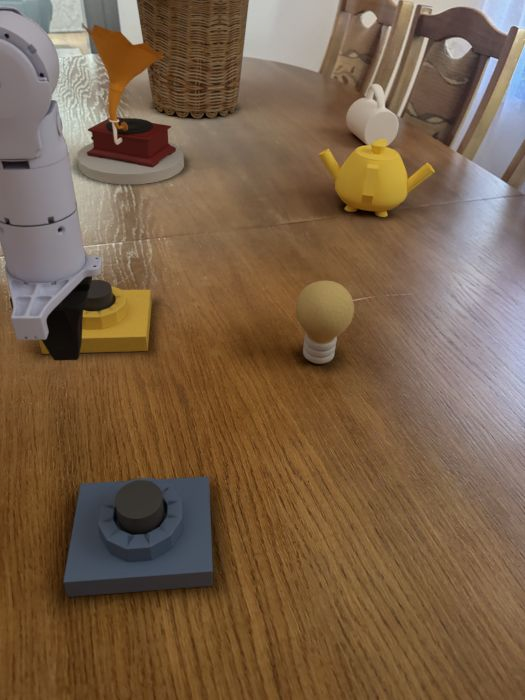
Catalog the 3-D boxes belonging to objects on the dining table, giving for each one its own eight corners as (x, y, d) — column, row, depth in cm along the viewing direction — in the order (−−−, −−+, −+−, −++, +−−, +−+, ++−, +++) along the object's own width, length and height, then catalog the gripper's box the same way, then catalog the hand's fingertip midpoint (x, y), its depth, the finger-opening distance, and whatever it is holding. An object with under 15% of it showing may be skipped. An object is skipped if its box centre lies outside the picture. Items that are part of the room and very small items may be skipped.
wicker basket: (141, 84, 157) (129, -64, 136) (266, 92, 157) (273, -54, 136) (109, 123, 129) (89, -54, 108) (261, 132, 129) (269, -43, 108)
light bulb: (282, 345, 68) (289, 274, 62) (330, 336, 70) (341, 266, 64) (304, 379, 63) (313, 306, 57) (354, 368, 65) (368, 296, 59)
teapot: (426, 195, 106) (441, 134, 99) (421, 236, 92) (438, 170, 85) (322, 178, 109) (329, 119, 102) (303, 216, 96) (309, 151, 89)
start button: (115, 536, 43) (112, 520, 42) (119, 496, 46) (117, 481, 44) (163, 532, 43) (161, 517, 42) (164, 494, 46) (163, 478, 45)
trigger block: (41, 354, 64) (34, 326, 62) (57, 305, 72) (51, 278, 70) (147, 351, 66) (145, 323, 63) (151, 303, 74) (149, 277, 71)
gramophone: (154, 192, 101) (142, 35, 85) (56, 173, 105) (27, 20, 90) (200, 155, 116) (198, 16, 100) (113, 140, 121) (97, 5, 105)
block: (67, 597, 43) (58, 569, 40) (84, 498, 50) (77, 469, 47) (213, 586, 44) (212, 558, 41) (209, 491, 51) (208, 462, 48)
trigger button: (76, 313, 65) (73, 298, 64) (81, 294, 68) (78, 279, 67) (111, 312, 65) (109, 297, 64) (115, 293, 69) (113, 279, 67)
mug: (361, 150, 123) (370, 92, 116) (343, 135, 131) (351, 79, 123) (395, 148, 125) (406, 91, 118) (375, 133, 133) (385, 78, 125)
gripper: (77, 259, 35) (104, 413, 44) (104, 171, 46) (122, 307, 55) (-42, 260, 34) (9, 416, 43) (15, 169, 45) (47, 308, 54)
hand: (67, 355), depth 49 cm, fingers closed
